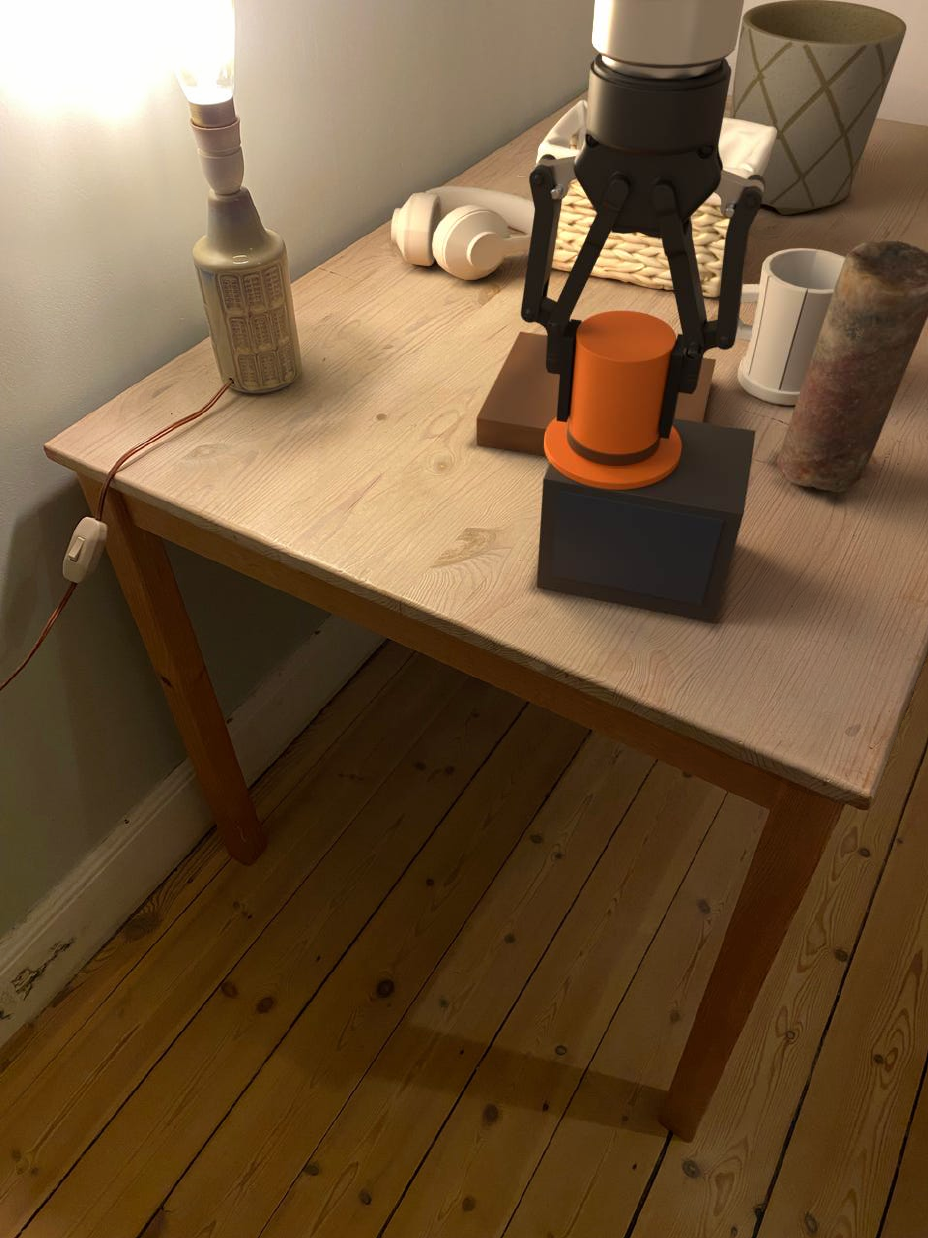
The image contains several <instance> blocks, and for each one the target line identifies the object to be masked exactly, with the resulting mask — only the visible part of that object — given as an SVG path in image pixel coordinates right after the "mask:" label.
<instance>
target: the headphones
mask: <svg viewBox="0 0 928 1238" xmlns="http://www.w3.org/2000/svg"><path fill="white" fill-rule="evenodd" d="M534 212H535V208H534V203H533V200H531V199H528V198H526V197H523V196H520V195H516V194H512V193H509V192H504V191H499V190H494V189H488V188H481V187H478V186H460V185H444V186H443V185H442V186H437V187H434V188H431V189H428V190H426V191H425V192H421V191H419V192H414V193H412V194H411V195H410V196H409V198H408V199H407V200H406V202H405V203H404V205H403V206H402V207H401V208H400V207H396V208H395V209H394V211H393V215H392V218H391V226H390V240H391V244H392V245H393V246H395V247H396V246H397V247H398V248H399V250H400V253H401V254H402V256H403V259H404V260H405V263H406V264H410V265H415V266H423V267H430V266H431V267H432V265H433V264H434V263H435V261H436V262H437V264H438V266H440V268H442V269H443V270H444V271H445V272H447V273H449V274H450V275H452V276H454V277H456V278H459V279H462V280H465V281H475V280H476V281H477V280H479V279H482V278H485V277H487V276H488V275H491V274H492V273H493V272H495V271H496V270H497V269H498V267H499V266H500V265H501V264H502V263H503V262H504V260H505V258H506V256H509V255H513V254H518V253H523V252H527V251H529V249H530V241H531V234H532V227H533V219H534ZM510 229H513V230H516V231H518V232H521V233H524V234H525V235H518V236H512V237H511V233H510V232H511V231H510Z"/></svg>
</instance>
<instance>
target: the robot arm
mask: <svg viewBox="0 0 928 1238" xmlns="http://www.w3.org/2000/svg"><path fill="white" fill-rule="evenodd" d="M744 4H745V0H594V11H593V23H592V35H591V36H592V37H591V43H592V45H593V48H595V50H596V51H597V52H598V54H597V55H596V56H595V58H594V59H593V60H592V61H591V63H590V67H589V76H588V77H589V79H588V89H587V91H588V92H587V102H588V103H587V115H586V128H585V138H584V142H583V145H582V147H581V148H580V150H579V152H578V154H577V155H576V156H572V157H566V158H560V159H556V158H555V157H554V156H553V155H551V154H545V155H543V156H542V157H541V158H540V159H539V161H538V163H537V164H535V166H534V168H533V169H532V171H531V172H530V174H529V176H528V179H529V181H528V183H529V187H530V192H531V197H532V201H533V203H534V208H535V212H534V219H533V227H532V234H531V241H530V249H529V250H528V255H527V264H526V271H525V278H524V285H523V293H522V300H521V307H520V317H521V319H522V320H523V321H524V322H525V323H528V324H533V323H536V324H539V325H540V326H542V327H543V328H544V329H545V331H546V335H547V351H546V369H547V371H548V373H552V374H559V375H560V379H559V393H558V406H557V420H556V421H561V422H567V420H568V418H569V415H570V403H571V391H572V379H573V367H574V355H575V343H576V332H577V329H578V327H579V325H580V324H581V323H582V322H583V320H581V319H576V318H575V319H574V318H571V316H572V314H573V312H574V310H575V309H576V306H577V304H578V302H579V299H580V298H581V295H582V293H583V291H584V289H585V287H586V285H587V283H588V281H589V279H590V276H591V275H590V274H591V272H592V270H593V268H594V266H595V264H596V261H597V259H598V257H599V255H600V253H601V251H602V249H603V247H604V245H605V243H606V240H607V238H608V236H609V234H610V232H611V230H612V233H619V234H628V233H635V232H638V233H641V234H643V235H646V236H649V237H653V238H661V239H662V244H663V249H664V253H665V256H667V259H668V264H669V269H670V274H671V279H672V284H673V289H674V290H673V293H674V298H675V303H676V309H677V314H678V319H679V324H680V328H681V329H680V330H681V333H677V335H676V344H675V347H674V350H673V354H672V359H671V365H670V371H669V377H668V382H667V388H666V394H665V400H664V406H663V412H662V418H661V423H660V429H659V435H658V437H659V438H665V439H669V436H670V433H671V429H672V425H673V421H674V416H675V411H676V406H677V400H678V395H679V392H680V393H686V394H693V392H694V391H695V389H696V387H697V383H698V379H699V374H700V369H701V364H702V359H703V358H704V355H705V354H706V352H708V351H709V350H713V349H716V348H717V349H720V350H722V351H727V350H730V349H732V348H733V346H734V345H735V343H736V339H737V338H736V333H737V328H738V323H739V317H740V313H741V306H742V305H741V304H742V303H741V297H742V288H743V284H744V278H745V271H746V261H747V254H748V253H747V252H748V243H749V235H750V229H751V227H752V225H753V222H754V220H755V219H756V216H757V215H758V213H759V210H760V209H761V206H762V204H761V203H762V199H763V194H764V189H765V180H764V179H763V177H762V176H760V175H756V174H755V175H751V176H749V177H748V178H747V179H746V178H743V177H741V176H738V175H736V174H733V173H730V172H728V171H725V170H723V164H722V160H721V158H720V154H719V139H720V133H721V128H722V122H723V117H724V116H725V111H726V105H727V100H728V94H729V88H730V82H731V77H732V67H731V66H730V65H729V61H728V60H727V57H729V56H730V55H731V54H732V53H733V52H734V51H735V50H736V46H737V42H738V37H739V33H740V27H741V22H742V19H741V18H742V15H743V9H744ZM576 178H577V180H578V182H579V183H580V185H581V187H582V189H583V190H584V192H585V194H586V196H587V197H588V199H589V201H590V203H591V204H592V206H593V208H594V210H595V211H596V213H597V214H596V216H595V218H594V221H593V223H592V225H591V227H590V230H589V232H588V234H587V236H586V238H585V241H584V243H583V245H582V247H581V250H580V252H579V254H578V256H577V259H576V261H575V263H574V265H573V267H572V270H571V272H570V271H569V274H568V276H567V279H566V280H565V283H564V285H563V288H562V290H561V292H560V294H559V296H558V298H557V300H554V299H552V298H550V297H549V296H548V293H549V287H550V281H551V275H552V269H553V268H552V262H553V256H554V250H555V243H556V237H557V231H558V225H559V218H560V212H561V206H562V199H563V198H565V196H566V195H567V193H568V191H569V189H570V187H571V181H572V180H573V179H576ZM713 193H716V194H718V195H719V196H720V199H721V208H720V211H721V214H722V215H723V216H724V217H725V218H728V219H730V220H729V224H728V228H727V232H726V238H725V246H724V256H723V267H722V277H721V287H720V295H719V296H718V297H719V299H718V307H717V308H718V309H717V319H714V320H709V321H708V316H707V311H706V304H705V299H704V296H703V293H702V287H701V281H700V276H699V270H698V265H697V259H696V253H695V248H694V242H693V236H692V222H691V216H692V215H693V214H694V212H695V211H696V210H697V209H698V208H699V207H700V206H701V205H702V204H703V203H704V202H705V201H706V200H707V199H708V198H709V197H710V196H711V195H712V194H713Z"/></svg>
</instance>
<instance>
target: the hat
mask: <svg viewBox="0 0 928 1238" xmlns="http://www.w3.org/2000/svg"><path fill="white" fill-rule="evenodd" d="M676 339H677V335H676V332H675V331H674V329H673V328H672V326H671V325H670V324H669V323H667V322H666V321H664V320H663V319H661V318H659V317H656V316H655V315H652V314H649V313H644V312H640V311H634V310H633V311H632V310H609V311H603V312H599V313H596V314H594V315H593V314H592V315H591V316H589V317H587V318H585V319H584V320H582V323H581V324H580V325H579V327H578V329H577V332H576V343H575V355H574V367H573V379H572V391H571V403H570V415H569V418H568V420H567V422H561V421H556V420H557V417H556V418H555V419H554V420H552V422H551V423H550V424H549V426H548V428H547V429H546V432H545V438H544V449H545V453H546V456H545V457H547V460H548V461H549V463H551V464H552V465H553V466H554V467H555V468H556V469H557V470H558V471H559V472H561V473H562V474H563V475H565V476H566V477H568V478H570V479H572V480H574V481H577V482H579V483H582V484H585V485H588V486H592V487H596V488H602V489H613V490H625V489H635V488H640V487H644V486H648V485H651V484H653V483H656V482H658V481H660V480H662V479H663V478H665V477H666V476H668V475H669V474H670V473H671V472H672V471H673V470H674V469H675V468H676V466H677V464H678V462H679V459H680V456H681V449H682V444H681V439H680V436H679V434H678V432H677V431H676V429H675V428H674V427H673V426H672V429H671V433H670V436H669V439H665V438H659V437H658V435H659V429H660V423H661V418H662V412H663V406H664V400H665V394H666V388H667V382H668V377H669V371H670V365H671V359H672V354H673V350H674V347H675V344H676Z"/></svg>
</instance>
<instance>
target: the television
mask: <svg viewBox="0 0 928 1238" xmlns="http://www.w3.org/2000/svg"><path fill="white" fill-rule="evenodd" d="M672 426H673V427H674V428H675V429H676V431H677V432H678V434H679V436H680V439H681V444H682V449H681V456H680V459H679V462H678V464H677V466H676V468H675V469H674V470H673V471H672V472H671V473H670V474H669V475H668V476H666V477H665V478H663V479H662V480H660V481H658V482H656V483H653V484H651V485H648V486H644V487H640V488H635V489H625V490H613V489H602V488H596V487H592V486H588V485H585V484H582V483H579V482H577V481H574V480H572V479H570V478H568V477H566V476H565V475H563V474H562V473H561V472H559V471H558V470H557V469H556V468H555V467H554V466H553V465H552V464H551V463H550V462H548V465H547V468H546V470H545V473H544V475H543V479H542V490H541V491H542V493H541V508H540V510H541V511H540V523H539V539H538V540H539V542H538V554H537V555H538V556H537V572H536V573H537V574H536V588H537V589H542V590H548V591H552V592H557V593H562V594H567V595H571V596H572V595H573V596H576V597H577V596H578V597H582V598H586V599H592V600H597V601H602V602H607V603H611V604H616V605H622V606H627V607H631V608H637V609H642V610H646V611H650V612H651V611H652V612H656V613H661V614H667V615H671V616H675V617H676V616H677V617H682V618H686V619H691V620H696V621H701V622H705V623H710V624H714V622H715V620H716V617H717V612H718V608H719V606H720V601H721V598H722V594H723V591H724V587H725V583H726V580H727V576H728V573H729V570H730V569H729V568H730V565H731V561H732V558H733V553H734V551H735V546H736V543H737V540H738V536H739V532H740V529H741V525H742V521H743V519H744V514H745V508H746V501H747V493H748V489H749V488H748V487H749V479H750V473H751V468H752V467H751V466H752V460H753V454H754V445H755V439H756V434H757V433H756V432H757V431H756V430H752V429H746V428H739V427H733V426H727V425H721V424H715V423H710V422H709V423H708V422H704V421H703V422H696V421H690V420H684V419H677V418H674V421H673V425H672Z"/></svg>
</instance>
